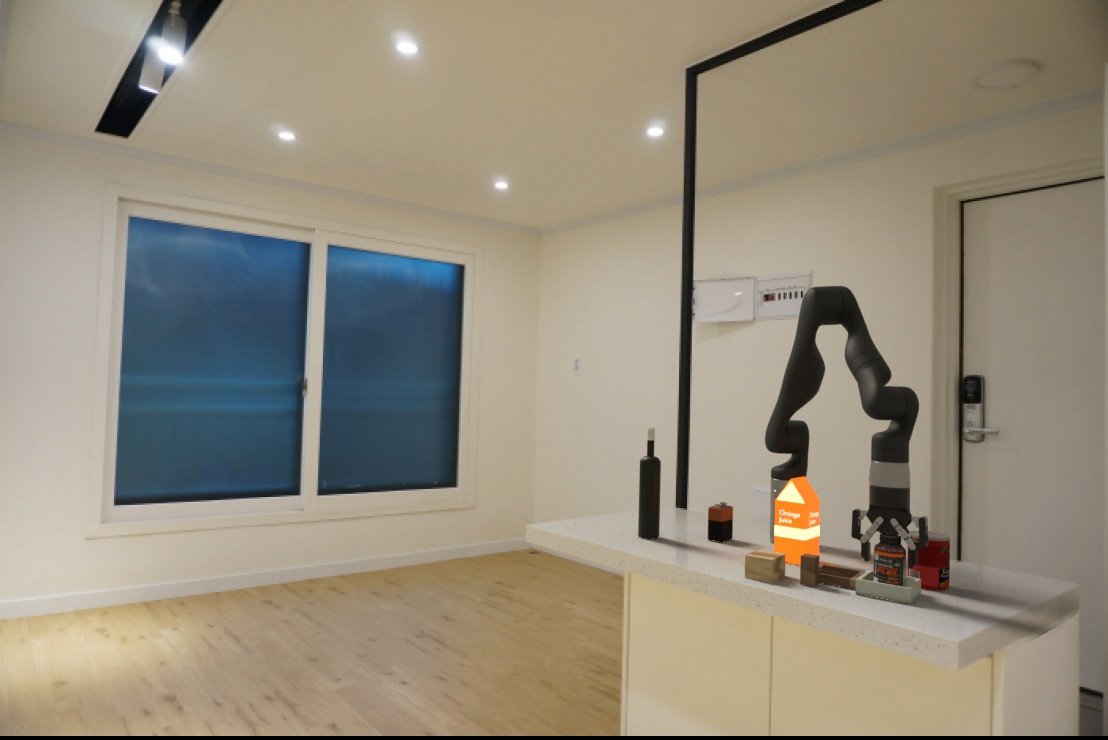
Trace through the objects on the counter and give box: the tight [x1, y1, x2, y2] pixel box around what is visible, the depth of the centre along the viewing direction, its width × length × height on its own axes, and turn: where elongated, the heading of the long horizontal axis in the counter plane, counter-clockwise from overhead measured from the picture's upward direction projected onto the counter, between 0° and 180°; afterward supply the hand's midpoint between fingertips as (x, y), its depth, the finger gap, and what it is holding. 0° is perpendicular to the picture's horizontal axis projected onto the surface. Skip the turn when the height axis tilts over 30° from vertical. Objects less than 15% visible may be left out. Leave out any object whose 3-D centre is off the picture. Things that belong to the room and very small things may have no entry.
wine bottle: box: [637, 427, 662, 540], centre depth 193 cm, size 6×6×30 cm
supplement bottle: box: [872, 533, 907, 587], centre depth 142 cm, size 6×6×11 cm
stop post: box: [799, 553, 820, 588], centre depth 148 cm, size 3×3×6 cm
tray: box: [854, 570, 922, 605], centre depth 142 cm, size 10×10×3 cm
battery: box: [707, 501, 734, 543], centre depth 192 cm, size 4×7×10 cm, turn 139°
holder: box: [819, 563, 866, 590], centre depth 151 cm, size 9×9×2 cm
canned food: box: [906, 530, 951, 592], centre depth 150 cm, size 8×8×11 cm
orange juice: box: [773, 476, 821, 566], centre depth 170 cm, size 8×9×20 cm
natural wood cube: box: [744, 549, 786, 583], centre depth 154 cm, size 8×6×5 cm
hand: (888, 564), depth 142 cm, fingers open, 8 cm apart
